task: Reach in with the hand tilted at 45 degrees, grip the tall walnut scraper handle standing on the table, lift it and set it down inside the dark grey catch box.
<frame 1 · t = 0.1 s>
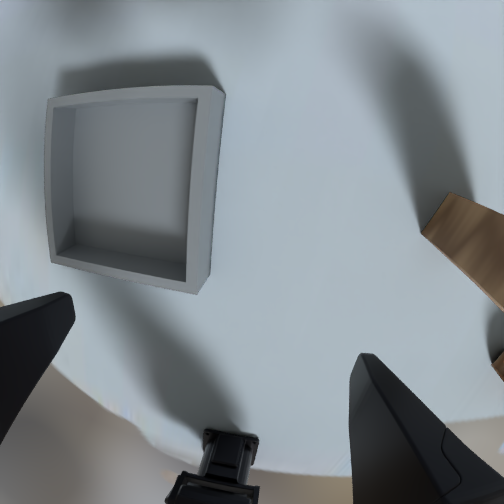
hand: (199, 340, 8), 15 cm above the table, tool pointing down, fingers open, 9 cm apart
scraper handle: (451, 228, 20), on the table
catch box: (133, 180, 22), on the table
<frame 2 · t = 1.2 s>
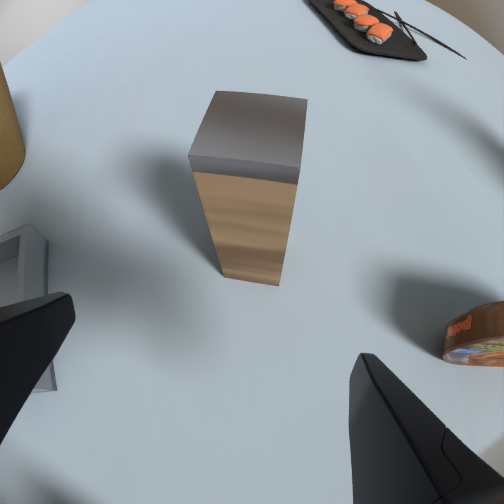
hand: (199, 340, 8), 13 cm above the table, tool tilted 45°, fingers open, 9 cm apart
tin: (489, 349, 19), on the table
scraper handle: (255, 256, 23), on the table
sushi plate: (394, 32, 42), on the table
catch box: (0, 323, 21), on the table
plant pot: (5, 169, 29), on the table
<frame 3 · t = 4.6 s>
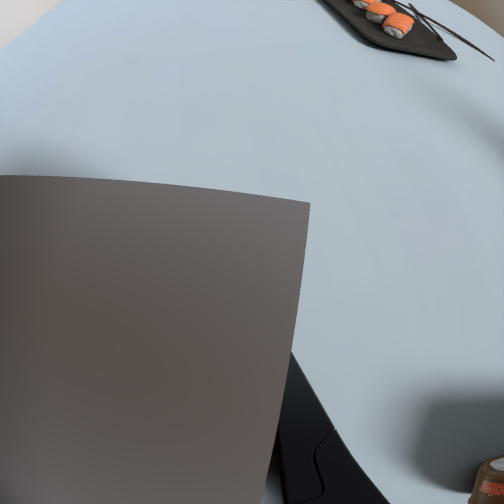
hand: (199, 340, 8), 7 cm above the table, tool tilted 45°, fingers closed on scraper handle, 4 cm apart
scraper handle: (219, 385, 14), on the table, touching gripper
sushi plate: (412, 26, 33), on the table
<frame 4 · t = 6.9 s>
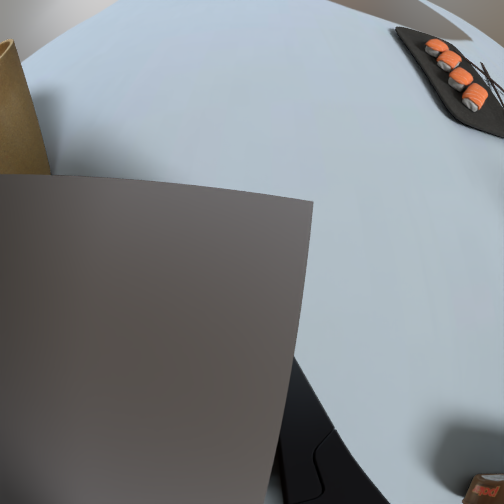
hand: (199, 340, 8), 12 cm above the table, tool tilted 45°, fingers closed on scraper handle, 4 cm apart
tin: (501, 482, 13), on the table
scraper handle: (219, 385, 14), point 6 cm above the table, touching gripper
sushi plate: (482, 91, 35), on the table
plant pot: (27, 193, 27), on the table
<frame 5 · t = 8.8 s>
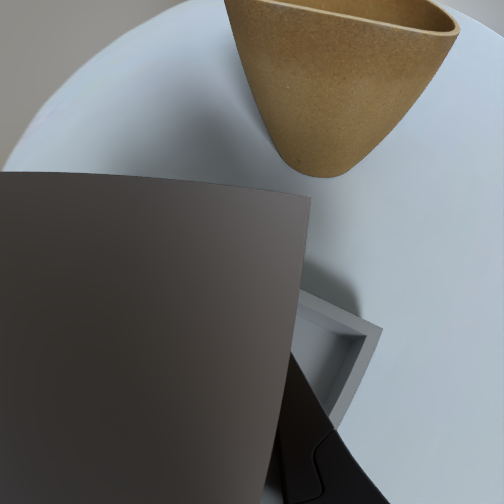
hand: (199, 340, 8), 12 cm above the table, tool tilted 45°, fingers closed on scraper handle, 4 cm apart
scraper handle: (219, 384, 14), point 5 cm above the table, touching gripper
catch box: (229, 382, 19), on the table
plant pot: (315, 147, 27), on the table
when the fingers open (9 cm above the table, at t = 9.8 s): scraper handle drops 1 cm, resting on catch box.
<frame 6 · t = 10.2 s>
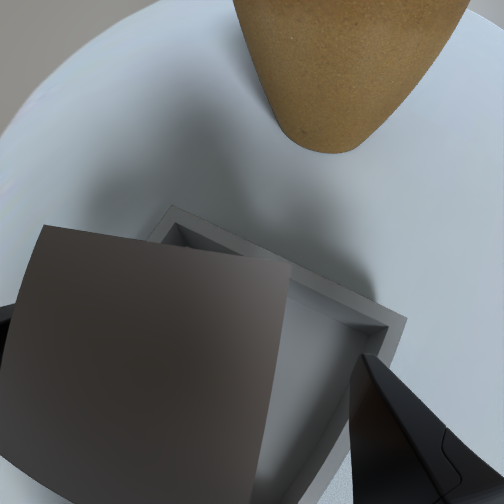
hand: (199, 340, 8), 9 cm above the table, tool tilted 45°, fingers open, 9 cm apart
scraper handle: (221, 384, 15), point 1 cm above the table, touching catch box
catch box: (223, 385, 16), on the table
plant pot: (320, 123, 24), on the table
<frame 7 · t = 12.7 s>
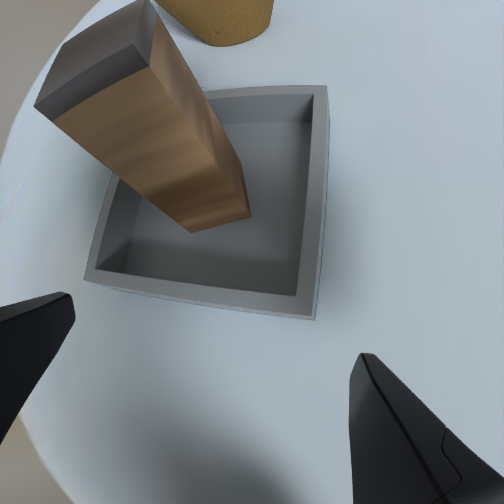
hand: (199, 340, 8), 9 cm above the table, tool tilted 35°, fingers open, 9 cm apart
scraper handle: (216, 197, 19), point 1 cm above the table, touching catch box
catch box: (220, 201, 20), on the table
plant pot: (235, 29, 26), on the table
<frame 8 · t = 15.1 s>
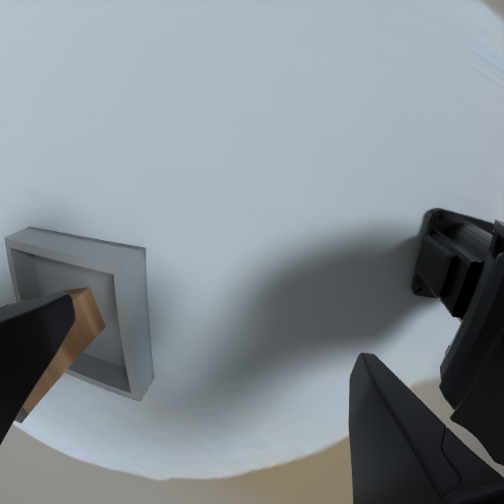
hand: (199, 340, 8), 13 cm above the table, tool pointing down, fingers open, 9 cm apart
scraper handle: (82, 308, 25), point 1 cm above the table, touching catch box
catch box: (86, 304, 25), on the table
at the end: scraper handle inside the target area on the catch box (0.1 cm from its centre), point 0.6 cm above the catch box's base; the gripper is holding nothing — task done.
